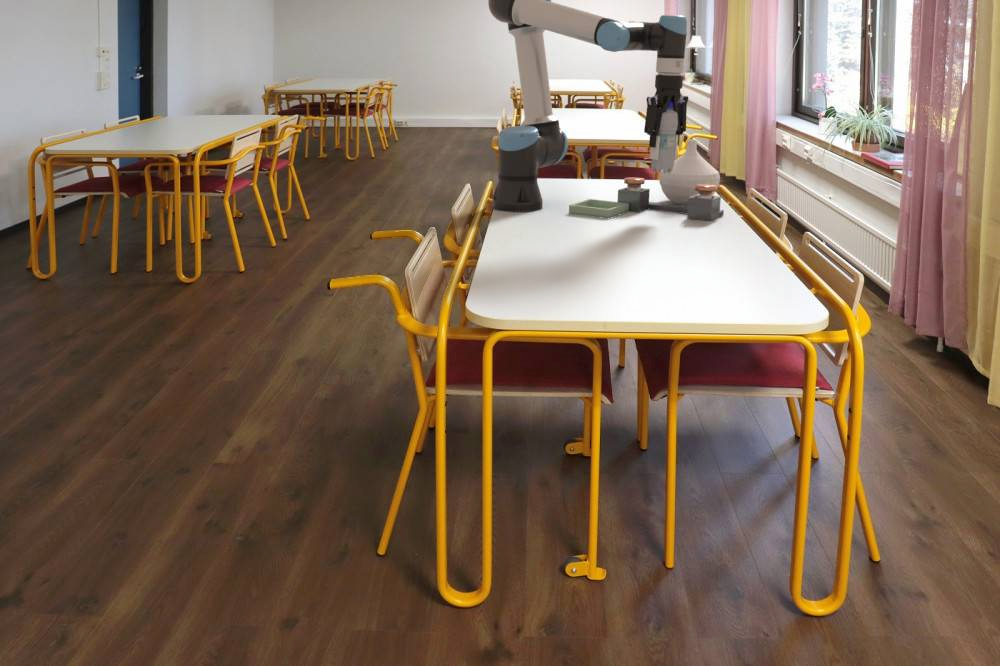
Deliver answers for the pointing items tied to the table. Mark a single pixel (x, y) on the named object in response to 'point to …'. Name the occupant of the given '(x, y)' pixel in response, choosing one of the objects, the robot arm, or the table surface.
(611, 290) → the table surface
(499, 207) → the robot arm
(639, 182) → the plunger left
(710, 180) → the vase
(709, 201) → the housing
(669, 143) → the bottle
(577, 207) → the tray
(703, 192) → the plunger right
